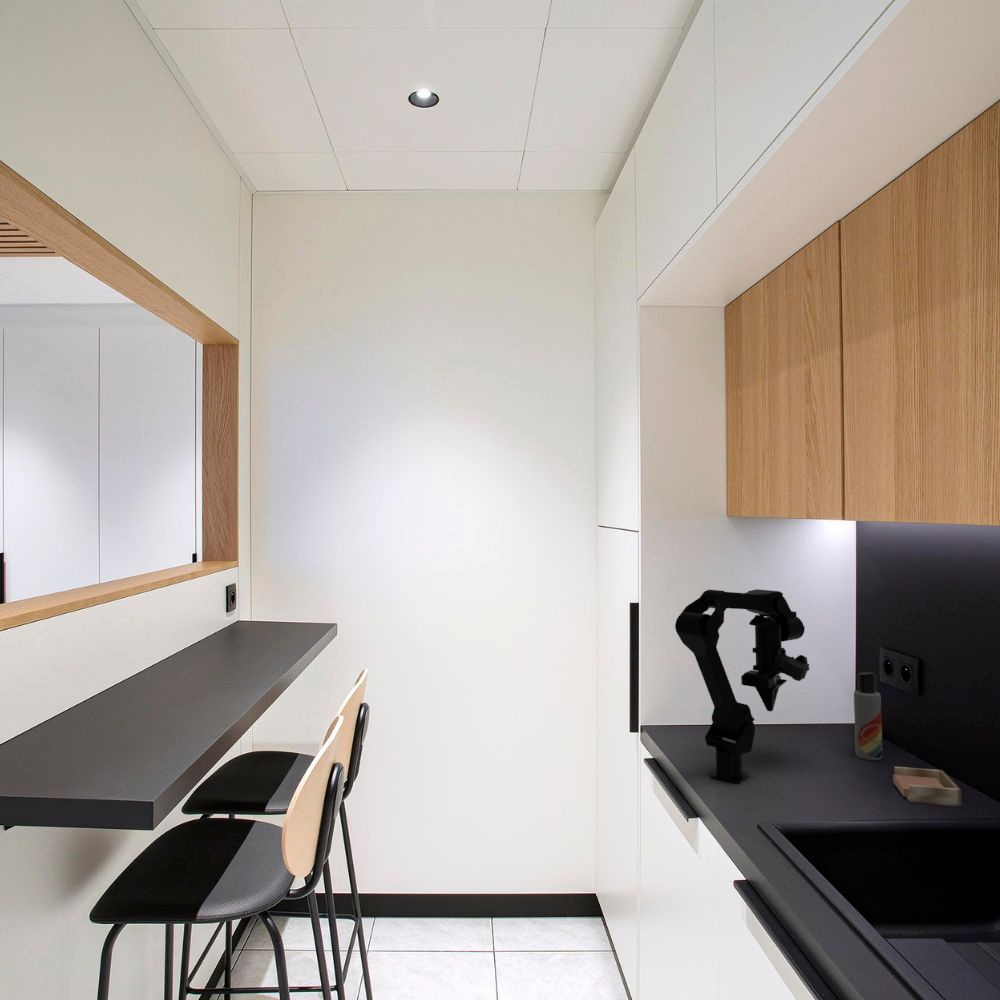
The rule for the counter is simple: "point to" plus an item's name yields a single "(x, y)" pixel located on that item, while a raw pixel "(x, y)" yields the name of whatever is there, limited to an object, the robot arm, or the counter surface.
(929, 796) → the tray
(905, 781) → the drawer panel
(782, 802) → the counter surface
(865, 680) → the lotion bottle
